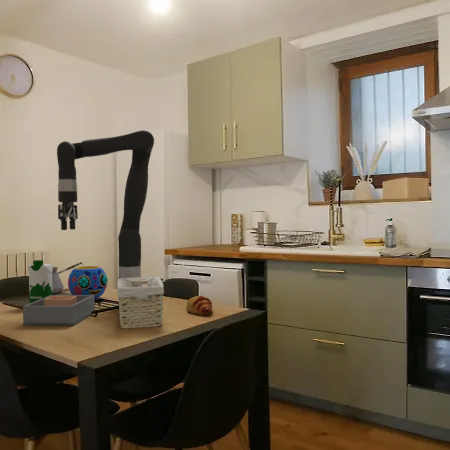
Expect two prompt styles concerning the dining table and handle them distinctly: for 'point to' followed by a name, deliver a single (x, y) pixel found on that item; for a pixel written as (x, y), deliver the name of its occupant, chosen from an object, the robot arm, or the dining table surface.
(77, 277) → the ceramic pot
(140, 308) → the storage basket
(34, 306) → the big crate
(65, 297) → the small crate
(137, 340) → the dining table surface
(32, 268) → the milk carton
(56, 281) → the coffee pot
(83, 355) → the dining table surface
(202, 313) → the croissant
